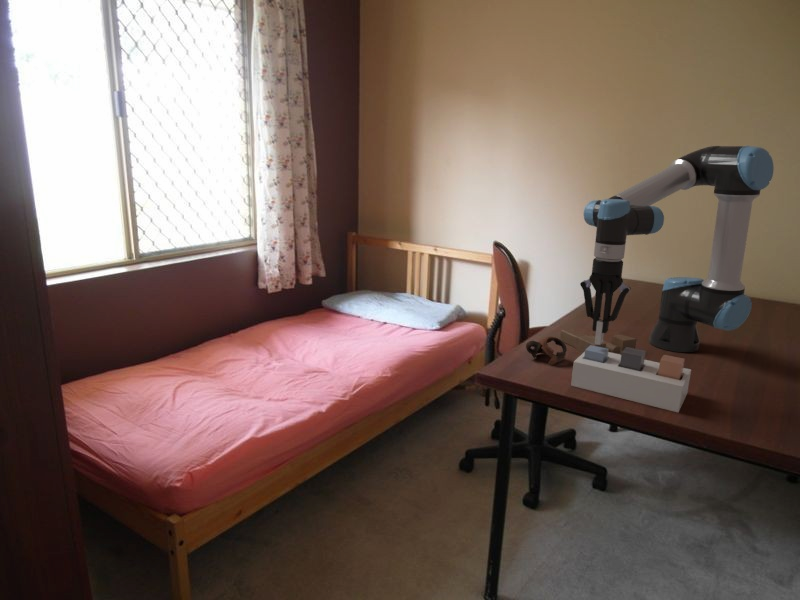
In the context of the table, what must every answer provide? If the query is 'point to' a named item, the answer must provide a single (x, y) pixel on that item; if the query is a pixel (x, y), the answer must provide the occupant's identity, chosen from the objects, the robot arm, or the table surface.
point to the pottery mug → (547, 349)
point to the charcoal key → (632, 359)
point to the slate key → (596, 354)
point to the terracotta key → (671, 367)
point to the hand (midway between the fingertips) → (598, 343)
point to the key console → (631, 382)
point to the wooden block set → (585, 341)
